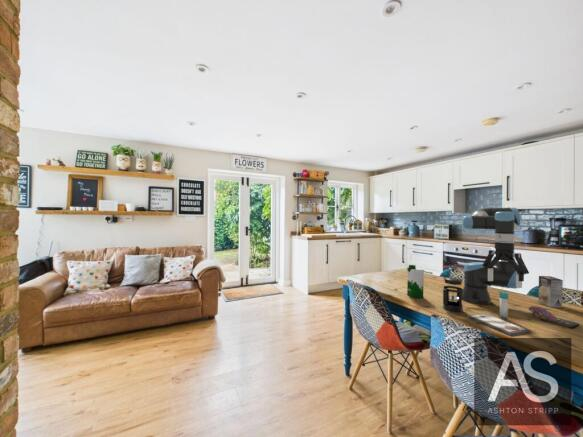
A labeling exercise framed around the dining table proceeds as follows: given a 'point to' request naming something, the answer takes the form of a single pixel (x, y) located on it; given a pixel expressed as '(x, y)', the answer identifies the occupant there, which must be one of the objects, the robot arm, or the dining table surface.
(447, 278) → the black lantern
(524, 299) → the dining table surface
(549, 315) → the purple oval lump
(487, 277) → the robot arm
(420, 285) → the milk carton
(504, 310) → the marker
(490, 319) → the tablet
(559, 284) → the coffee box
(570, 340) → the dining table surface
